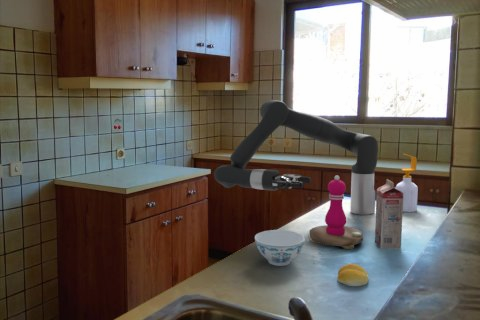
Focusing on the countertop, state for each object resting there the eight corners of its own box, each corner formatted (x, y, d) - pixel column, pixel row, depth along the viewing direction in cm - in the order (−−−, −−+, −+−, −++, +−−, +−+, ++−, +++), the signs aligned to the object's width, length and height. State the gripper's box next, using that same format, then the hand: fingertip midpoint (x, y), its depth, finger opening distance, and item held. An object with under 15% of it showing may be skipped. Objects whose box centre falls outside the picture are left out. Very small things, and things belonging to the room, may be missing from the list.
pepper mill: (344, 229, 160) (346, 173, 157) (347, 236, 153) (349, 177, 150) (323, 229, 161) (325, 173, 158) (325, 235, 154) (327, 177, 151)
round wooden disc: (340, 230, 169) (340, 220, 168) (374, 245, 153) (374, 234, 152) (299, 237, 162) (299, 227, 161) (329, 253, 145) (330, 242, 145)
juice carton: (380, 248, 150) (383, 183, 146) (374, 242, 156) (377, 179, 153) (400, 248, 150) (404, 182, 146) (393, 242, 156) (396, 179, 153)
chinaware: (247, 267, 135) (247, 242, 133) (263, 250, 148) (263, 227, 147) (297, 274, 129) (297, 248, 128) (309, 256, 143) (309, 232, 142)
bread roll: (337, 286, 122) (337, 272, 121) (338, 273, 130) (338, 259, 130) (369, 289, 120) (369, 274, 119) (368, 275, 128) (368, 262, 128)
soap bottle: (391, 207, 202) (393, 152, 198) (410, 206, 203) (413, 152, 199) (400, 212, 193) (403, 155, 190) (420, 212, 194) (423, 155, 191)
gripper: (256, 173, 162) (299, 176, 154) (272, 166, 174) (313, 168, 167) (256, 193, 163) (299, 197, 156) (272, 185, 176) (313, 188, 168)
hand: (306, 182), depth 161 cm, fingers open, 8 cm apart
